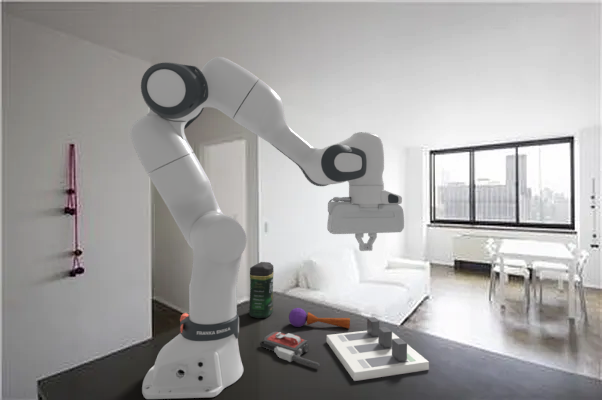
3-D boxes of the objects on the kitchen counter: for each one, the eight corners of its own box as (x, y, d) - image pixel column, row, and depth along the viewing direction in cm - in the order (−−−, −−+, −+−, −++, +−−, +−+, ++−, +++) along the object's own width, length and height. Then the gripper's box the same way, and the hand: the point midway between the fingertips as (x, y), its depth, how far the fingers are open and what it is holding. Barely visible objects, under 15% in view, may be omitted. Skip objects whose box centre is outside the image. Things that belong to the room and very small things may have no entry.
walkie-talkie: (254, 351, 87) (317, 373, 77) (254, 335, 87) (317, 355, 77) (273, 339, 95) (332, 357, 84) (273, 324, 95) (332, 341, 84)
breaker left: (371, 336, 91) (371, 322, 91) (367, 331, 94) (367, 318, 94) (379, 335, 91) (379, 321, 91) (374, 331, 94) (374, 317, 94)
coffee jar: (268, 320, 108) (268, 266, 108) (246, 318, 110) (246, 265, 109) (276, 310, 117) (276, 260, 117) (256, 308, 119) (256, 259, 119)
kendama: (350, 320, 99) (288, 313, 100) (348, 337, 100) (287, 329, 102) (349, 310, 105) (290, 303, 106) (348, 325, 106) (289, 319, 107)
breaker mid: (383, 347, 84) (384, 332, 84) (378, 342, 87) (378, 327, 87) (391, 346, 85) (391, 331, 85) (386, 341, 88) (386, 326, 87)
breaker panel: (354, 381, 73) (354, 372, 73) (326, 341, 92) (326, 334, 92) (428, 369, 78) (428, 361, 78) (387, 334, 97) (387, 328, 97)
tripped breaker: (398, 361, 77) (398, 344, 77) (391, 355, 80) (392, 339, 80) (406, 360, 78) (407, 343, 78) (400, 354, 81) (400, 338, 81)
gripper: (332, 197, 75) (331, 254, 75) (407, 197, 80) (407, 251, 80) (323, 196, 81) (323, 250, 81) (394, 197, 86) (394, 247, 86)
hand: (365, 250), depth 81 cm, fingers closed
